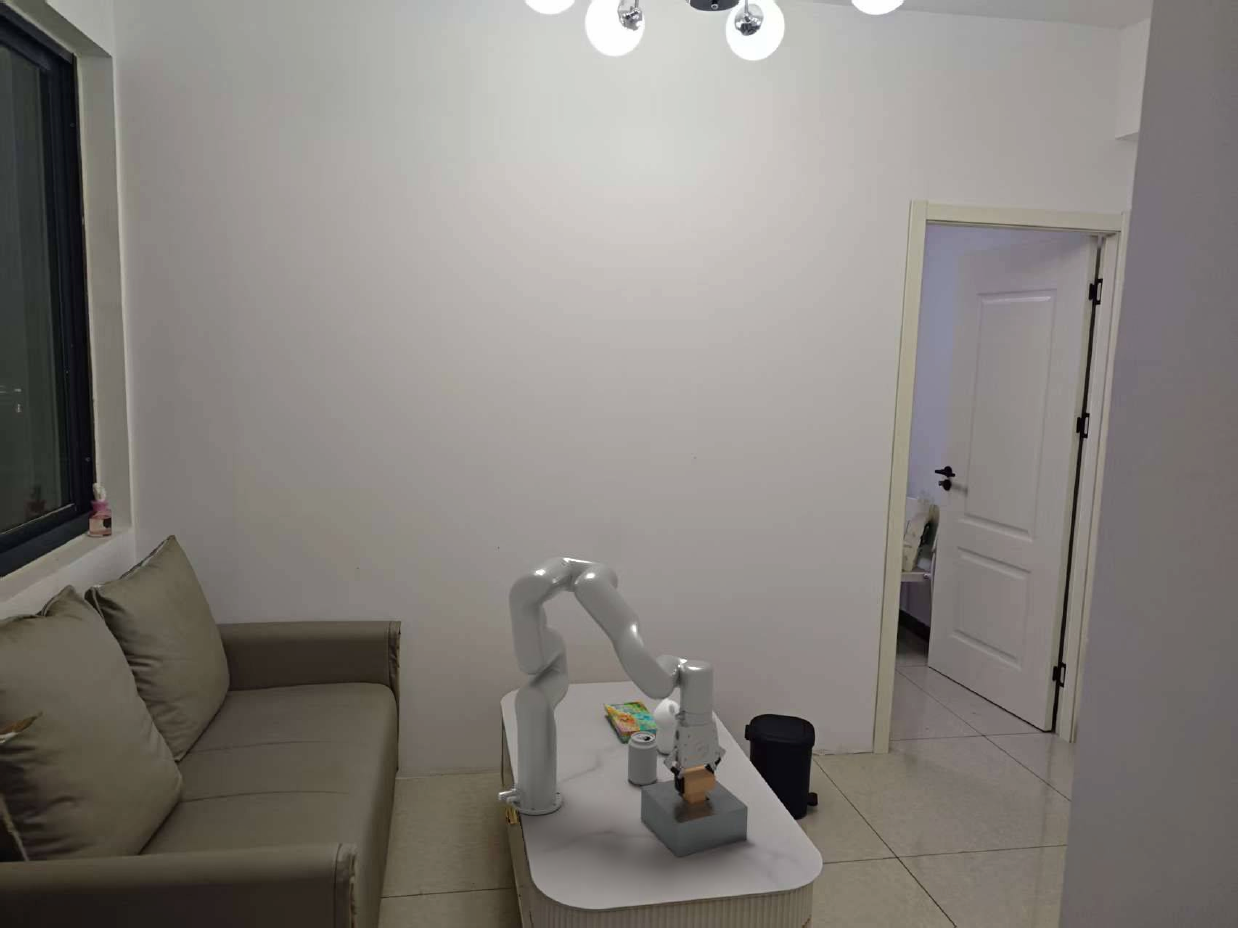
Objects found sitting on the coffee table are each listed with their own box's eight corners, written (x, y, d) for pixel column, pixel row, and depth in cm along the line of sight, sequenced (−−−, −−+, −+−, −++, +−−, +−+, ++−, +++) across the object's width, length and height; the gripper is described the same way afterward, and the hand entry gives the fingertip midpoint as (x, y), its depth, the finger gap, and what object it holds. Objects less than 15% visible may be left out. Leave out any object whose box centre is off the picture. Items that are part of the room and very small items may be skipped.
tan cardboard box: (688, 819, 202) (689, 782, 201) (673, 805, 209) (674, 769, 208) (714, 813, 205) (715, 776, 204) (699, 799, 212) (700, 763, 211)
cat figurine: (647, 746, 251) (647, 695, 249) (688, 739, 255) (688, 689, 253) (659, 760, 242) (659, 707, 240) (701, 753, 247) (701, 701, 244)
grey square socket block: (677, 857, 196) (678, 823, 195) (640, 818, 212) (641, 786, 211) (746, 839, 204) (747, 806, 203) (705, 802, 220) (706, 772, 219)
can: (654, 788, 227) (655, 743, 225) (625, 784, 228) (626, 740, 227) (658, 774, 234) (659, 731, 232) (630, 771, 235) (631, 728, 234)
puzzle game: (621, 728, 251) (604, 701, 270) (621, 744, 252) (604, 716, 271) (661, 725, 254) (641, 698, 273) (660, 740, 255) (641, 713, 274)
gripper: (670, 727, 197) (669, 803, 199) (736, 714, 205) (734, 788, 207) (654, 715, 204) (653, 788, 206) (719, 703, 211) (717, 774, 214)
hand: (694, 787), depth 206 cm, fingers closed on tan cardboard box, 7 cm apart
